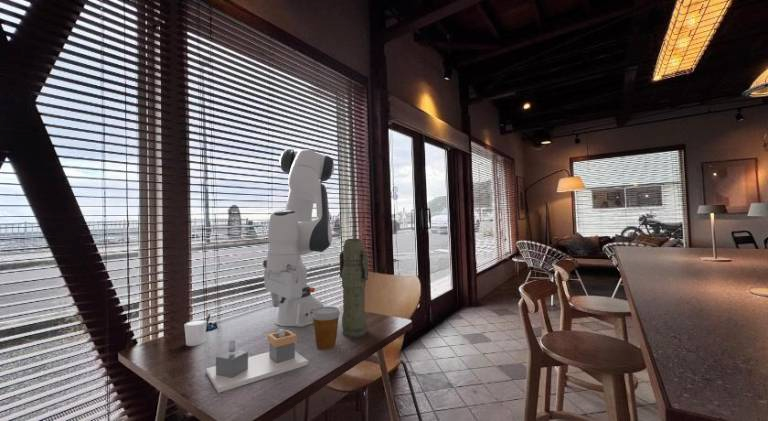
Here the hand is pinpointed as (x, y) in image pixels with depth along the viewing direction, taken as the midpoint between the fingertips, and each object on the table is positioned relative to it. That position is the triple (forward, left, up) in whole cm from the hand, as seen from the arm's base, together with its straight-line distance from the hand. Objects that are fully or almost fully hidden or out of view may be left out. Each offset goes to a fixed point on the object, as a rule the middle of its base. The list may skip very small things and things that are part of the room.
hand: (282, 309), depth 98 cm
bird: (+10, -50, -16) cm, 53 cm away
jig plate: (+7, 0, -16) cm, 17 cm away
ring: (0, 0, -10) cm, 10 cm away
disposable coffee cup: (-16, -2, -16) cm, 23 cm away
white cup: (+17, -35, -16) cm, 42 cm away
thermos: (-30, -6, -16) cm, 35 cm away
